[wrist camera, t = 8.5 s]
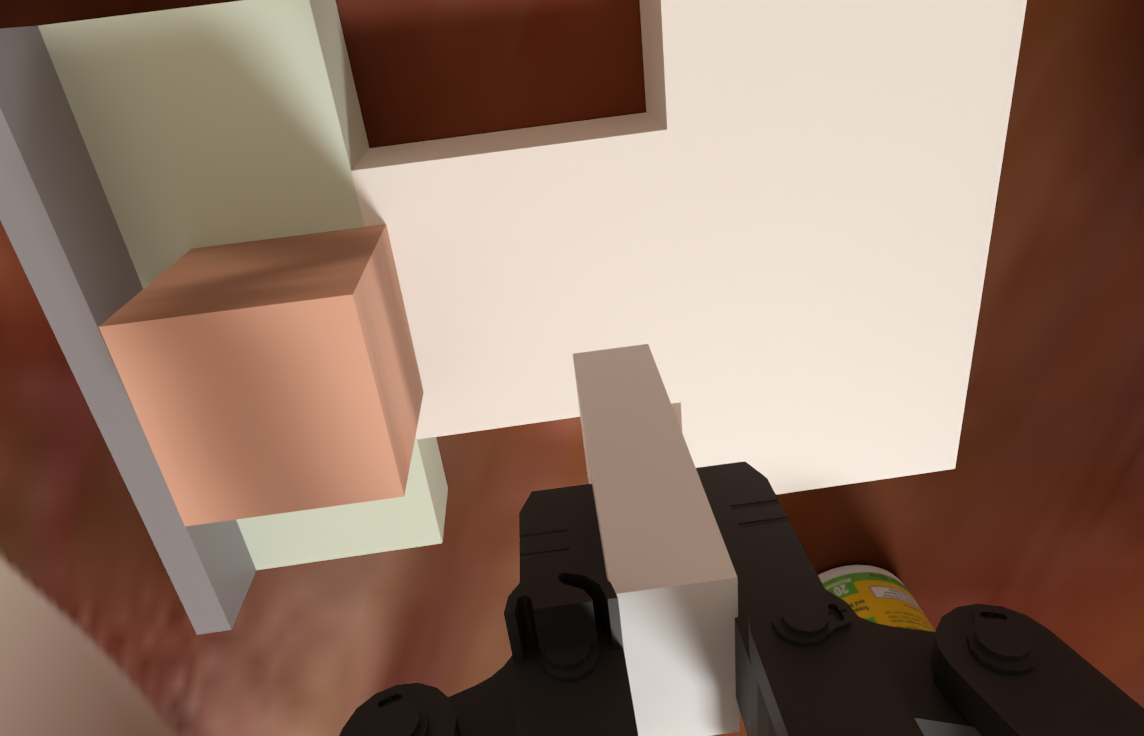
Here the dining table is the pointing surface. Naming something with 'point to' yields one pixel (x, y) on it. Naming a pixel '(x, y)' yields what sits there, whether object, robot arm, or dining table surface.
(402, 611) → the dining table surface
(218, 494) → the block
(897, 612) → the supplement bottle
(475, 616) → the dining table surface
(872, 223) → the board
